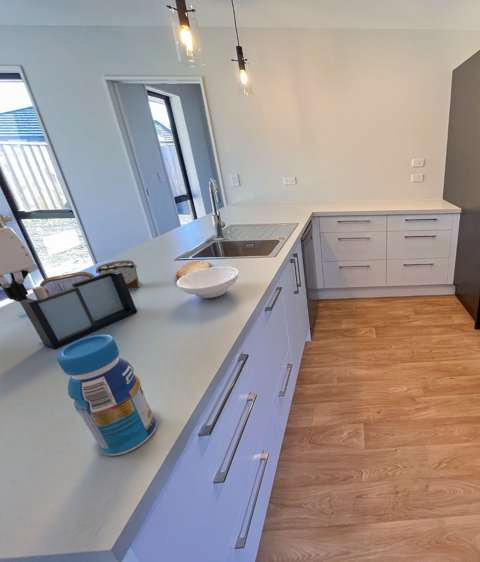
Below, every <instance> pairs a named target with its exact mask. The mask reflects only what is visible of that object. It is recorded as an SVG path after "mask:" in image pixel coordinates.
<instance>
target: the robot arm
mask: <svg viewBox="0 0 480 562" xmlns="http://www.w3.org/2000/svg"><path fill="white" fill-rule="evenodd" d="M12 221H13V219H12V217H11V216H10V215H3V214H1V213H0V287H1V289H2V290H3V291H4V293H5V296H6V297H7V298H8V300H13V301H14V302H18V303H20V301H22V300H26V299H28V298H29V297H28V296H27V295H29V292H28V290H27V289H26V287H25V285H24V283H25V279H26V278H27V276H28V275H29V274H31V273H33V272H35V271H37V270H39V267H38V266H37V264H35V260H34V257H33V256H32V254H31V252H30V251H29V249H28V248H27V246H26V244H25V243H24V242H23V240H22V239H21V238H20V237H19V235H18V234H17V233H16V232H15V231H14V229H13V228H12V227H10V226H7V223H9V222H12ZM4 275H9V278H10V280H11V282H9V281H8V280H7V278H6V277H4Z"/></svg>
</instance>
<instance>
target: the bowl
mask: <svg viewBox="0 0 480 562" xmlns="http://www.w3.org/2000/svg"><path fill="white" fill-rule="evenodd" d="M238 278H239V270H238V269H237V268H235V267H231V266H211V268H205V269H201V270H197V271H194V272H191V273H188V274H186V275H184V276H182V277H181V278H180V279H179V280H176V286H177V287H178V288H179V289H180V290H181V291H182V292H184V293H185V294H189V295H195V296H196V297H198V298H200V299H213V298H218V297H219V296H222V295H224V294H225V293H227V292H228V290H229V288H230V287H231V286H233V285H234V284H235V283H236V282H237V280H238Z"/></svg>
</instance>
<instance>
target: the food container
mask: <svg viewBox="0 0 480 562" xmlns="http://www.w3.org/2000/svg"><path fill="white" fill-rule="evenodd" d="M137 269H138V265H137V263H136V262H135V261H134V260H130V259H124V260H123V259H122V260H117V261H115V260H114V261H110V262H107V263H103V264H101V265H98V266H96V267H95V274H98V275H101V274H104V273H106V272H108V271H111V270H112V271H117V272H122V275H123V277H124V280H125V282H126V285H127V287H128V290H129V291H130V290H136V289H141V285H140V281H139V275H138V271H137Z"/></svg>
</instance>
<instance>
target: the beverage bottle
mask: <svg viewBox="0 0 480 562" xmlns="http://www.w3.org/2000/svg"><path fill="white" fill-rule="evenodd" d="M56 360H57V363H58V364H59V366H60V368H61V370H62V372H63V373H64V374H65V375H66V376H68V377H69V379H68V383H67V384H68V385H67V394H68V397H69V398H70V399H72V400H74V401H73V406H74V408H75V411H76V412H77V413H78V414H79V415H80V417H81V418H82V420H83V422H84V423H85V425H86V426H87V428H88V430H89V432H90V433H91V435H92V436H93V438H94V440H95V441H96V444H97V446H98V447H99V449H100V451H101V452H102V453H103V454H104V455H106V456H121V455H125V454H127V453H129V452H132V451H134V450H136V449H137V448H139V447H140V446H142V445H143V444H144V443H146V442H147V441H148V439H150V438H151V437H152V436H153V434H154V433H155V431H156V429H157V424H158V423H157V419H156V417H155V415H154V413H153V411H152V409H151V407H150V404H149V402H148V399H147V397H146V394H145V392H144V390H143V388H142V385H141V381H140V378H139V377H138V375H137V374H136V373H135V372H134V371H135V370H134V367H133V366H132V364H131V363H130V362H129V361H127V360H125V359H124V358H122V357H120V350H119V348H118V344H117V343H116V341H115V339H114V337H113V336H111V335H109V334H96V335H95V334H94V335H90V336H87V337H86V336H85V337H82V338H79V339H77V340H75V341H73V342H70V343H68V344H66V345H65V346H64V347H63V348H61V349H60V350H59V351H58V352H57V354H56Z"/></svg>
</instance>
